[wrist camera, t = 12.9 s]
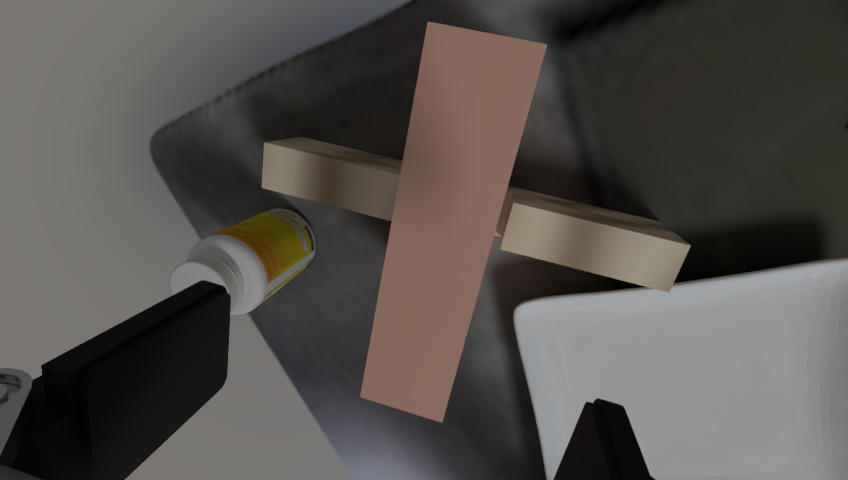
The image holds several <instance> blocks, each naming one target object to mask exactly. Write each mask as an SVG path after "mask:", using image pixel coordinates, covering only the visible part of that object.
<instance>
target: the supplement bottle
mask: <svg viewBox="0 0 848 480" xmlns="http://www.w3.org/2000/svg"><path fill="white" fill-rule="evenodd" d="M315 248H316V243H315V237H314V234H313V231H312V229H311V228H310V226H309V224H308V223H307V222H306V221H305V220H304V219H303V218H302V217H301V216H300V215H298V214H296V213H295V212H293V211H290V210H287V209H280V208H277V209H271V210H268V211H265V212H262V213H260V214H258V215H256V216H253V217H251V218H249V219H247V220H244V221H242V222H240V223H238V224H235V225H233V226H231V227H229V228H226V229H224V230H222V231H219V232H217V233H215V234H212V235H210V236H208V237H206V238H204V239H202V240H200V241H199V242H198V243H197V244H196V245H194V247H193V248H192V249H191V251H190V253H189V255H188V258H187V261H185V262H183V263H181V264H180V265H178V266H177V267H176V268H175V269H174V271H173V273H172V275H171V278H170V289H171V293H172V295H174V294H176V293H178V292H180V291H182V290H184V289H186V288H187V287H189V286H191V285H193V284H195V283H197V282H199V281H201V280H206V281H209V282H212V283H216V284H219V285H222V286H224V287H225V288H226V290H227V293H229V294H230V296H231V307H230V315H242V314H246V313H248V312H250V311H252V310H254V309H255V308H256V307H258V306H259V305H260V304H262V303H263V302H264V301H265V300H267V299H268V298H269V297H270V296H272V295H273V294H274V293H275V292H277V291H278V290H279V289H280V288H282V287H283V286H284V285H285V284H287V283H288V282H289V281H290V280H292V279H293V278H294V277H295V276H296V275H298V274H299V273H300V272H301V271H303V270H304V269H305V268H306V267H307V266H308V265H309V264H310V263H311V261H312V259H313V257H314V254H315Z"/></svg>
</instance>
